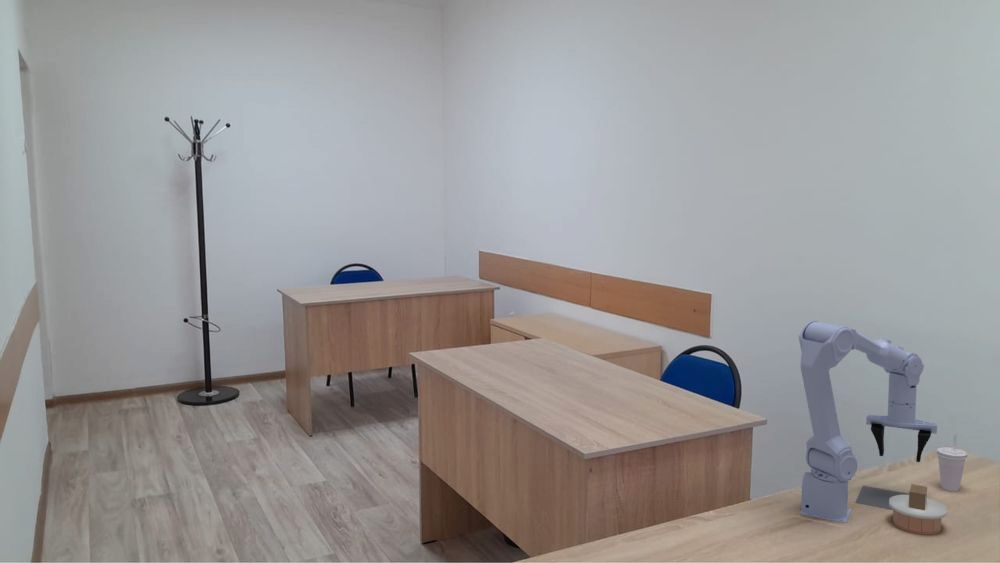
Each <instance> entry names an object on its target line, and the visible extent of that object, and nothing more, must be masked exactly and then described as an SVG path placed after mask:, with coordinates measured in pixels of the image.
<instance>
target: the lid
mask: <svg viewBox="0 0 1000 563" xmlns="http://www.w3.org/2000/svg"><path fill="white" fill-rule="evenodd" d="M908 494H909V495H896V496H893V497H891V498H890V499H889V506H890V507H891V508H892V509H893V510H895V511H897V512H899V513H901V514H904V515H907V516H911V517H915V518H922V519H939V518H942V519H943V518H945V517H946V516H947V515H948V507H947V506H946V505H944V504H943V503H942V502H940V501H938V500H935V499H933V498H929V497H928V486H924V485H918V484H914V483H911V484H910V488H909V491H908ZM893 510H892V511H893Z"/></svg>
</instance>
